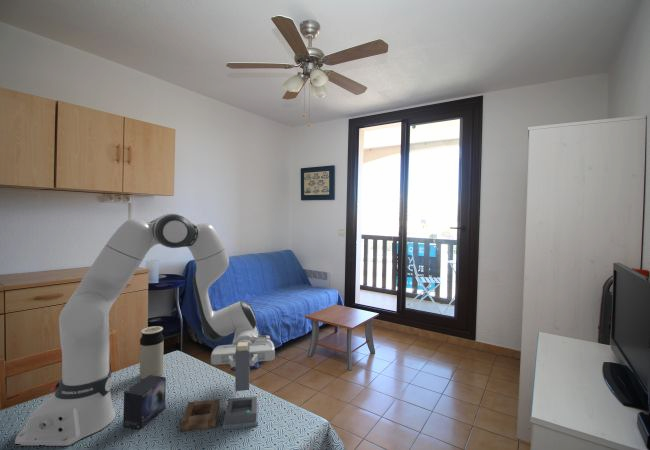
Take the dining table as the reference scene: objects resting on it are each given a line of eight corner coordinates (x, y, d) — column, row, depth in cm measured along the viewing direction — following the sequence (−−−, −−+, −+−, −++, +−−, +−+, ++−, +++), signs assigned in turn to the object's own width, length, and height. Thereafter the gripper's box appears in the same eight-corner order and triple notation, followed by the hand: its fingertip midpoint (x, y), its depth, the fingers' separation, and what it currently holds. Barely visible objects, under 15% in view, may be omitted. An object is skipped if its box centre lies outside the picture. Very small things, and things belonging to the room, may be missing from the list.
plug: (235, 391, 93) (235, 347, 93) (236, 384, 97) (236, 341, 96) (248, 389, 94) (249, 346, 93) (249, 383, 98) (249, 341, 97)
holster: (180, 431, 88) (180, 421, 88) (188, 411, 97) (188, 402, 97) (215, 427, 90) (215, 417, 90) (219, 408, 99) (219, 399, 99)
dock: (222, 429, 89) (222, 416, 89) (226, 408, 99) (226, 396, 99) (257, 425, 91) (258, 412, 91) (258, 405, 101) (258, 393, 101)
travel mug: (167, 373, 121) (167, 328, 120) (147, 382, 114) (147, 334, 114) (156, 368, 125) (156, 324, 125) (135, 376, 118) (135, 330, 118)
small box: (140, 430, 88) (141, 394, 88) (121, 427, 90) (122, 391, 90) (166, 408, 99) (167, 376, 99) (149, 405, 100) (149, 374, 100)
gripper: (213, 339, 106) (206, 357, 92) (274, 335, 110) (275, 351, 96) (213, 357, 106) (206, 377, 92) (273, 352, 110) (275, 371, 96)
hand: (242, 364), depth 94 cm, fingers closed on plug, 4 cm apart
